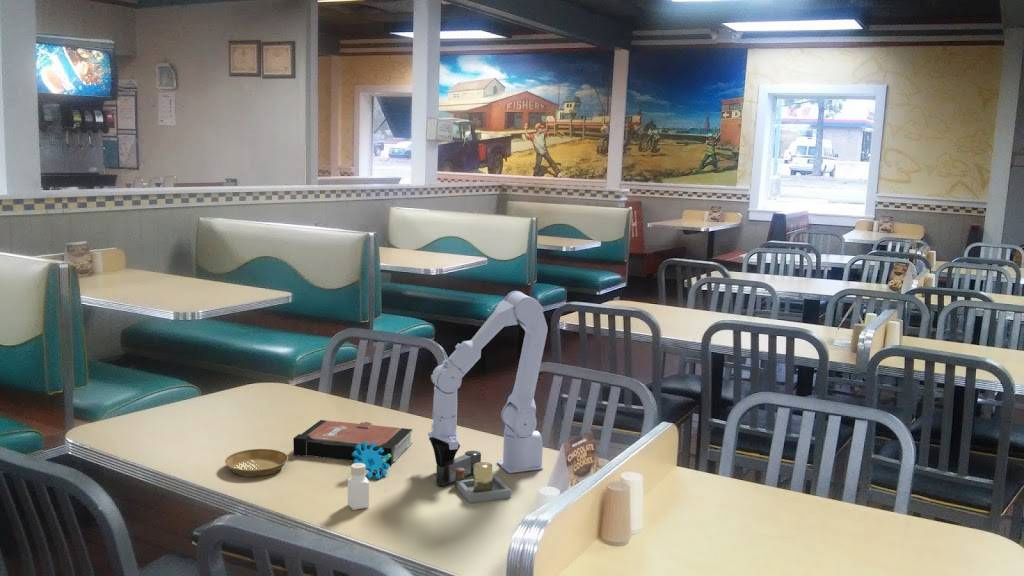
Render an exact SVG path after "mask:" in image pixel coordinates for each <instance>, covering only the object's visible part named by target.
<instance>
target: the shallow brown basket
mask: <svg viewBox="0 0 1024 576" xmlns="http://www.w3.org/2000/svg"><path fill="white" fill-rule="evenodd" d="M251 460H253V461H254V462H255V463H254V462H252V461H251ZM288 460H289V456H288V454H286V453H285V452H283V451H280V450H278V449H270V448H254V449H253V448H252V449H246V450H241V451H237V452H235V453H232V454H229V456H227V457H226V458H225V460H224V463H225V465H226V466H227V468H229V469H230V470H231V471H232V472H233V473H234V474H236V475H238V474H239V476H241V475H242V477H248V476H251V478H252V477H254V478H256V476H257V477H263V476H268V475H272V474H274V473H277V472H278V471H279V470H280V469H282V468H283V466H284V465H285V464H286V463H287V461H288ZM243 462H244V463H246V464H247V465H250V464H249V463H251V464H254V465H255V466H256V467H257V469H256V467H255V468H254V467H253V466H252V465H250V466H251V467H252V468H253V470H252V468H251V469H250V467H247V466H246V467H247V470H246V468H245V469H244V467H242V470H241V469H239V468H237V466H236V465H238V466H239V463H240V464H241V463H242V464H243ZM247 462H249V463H247ZM256 464H257V465H256ZM244 465H245V464H244ZM258 465H259V466H258ZM234 467H236V468H234ZM240 467H241V465H240Z"/></svg>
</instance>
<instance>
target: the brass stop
mask: <svg viewBox="0 0 1024 576" xmlns="http://www.w3.org/2000/svg"><path fill="white" fill-rule="evenodd" d="M472 475H473V478H472V479H473V483H474V492H475V493H479V492H486V491H492V490H493V482H492V476H493V464H492V463H490V462H486V461H481V462H478V463H475V464H474V465H473V474H472Z"/></svg>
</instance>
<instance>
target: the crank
mask: <svg viewBox="0 0 1024 576" xmlns="http://www.w3.org/2000/svg"><path fill="white" fill-rule="evenodd" d="M478 462H482V453H481V452H480V451H479V450H478V451H477V450H466V451H465V452H464V454H463V455H461V456H458V457H454V459H453V460H450V461H448V462H445V463H442V464H439V465H437V464H436V480H435V481H436V483H435V484H436V485H438V486H440V487H445V486H448V485H449V484H452V483H455V479H456V471H455V469H456V468H464V469H465V471H464V478H465V477H468V476H469V475H473V465H474V464H475V463H478Z"/></svg>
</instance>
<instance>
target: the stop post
mask: <svg viewBox="0 0 1024 576" xmlns="http://www.w3.org/2000/svg"><path fill="white" fill-rule="evenodd" d="M455 471H456V479H455V481H454V483H455V484H454V485H455V487H456V488H457V481H461V480H465V477H464V471H465V469H464V468H456V469H455Z"/></svg>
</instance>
